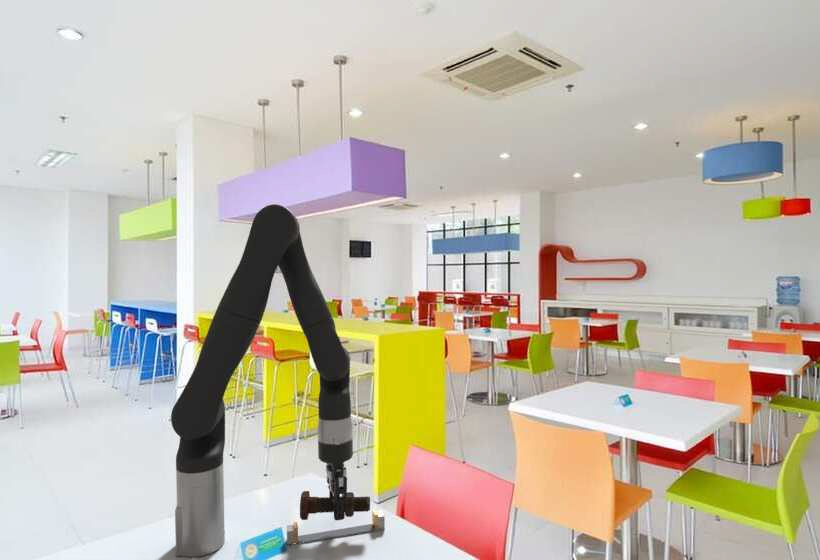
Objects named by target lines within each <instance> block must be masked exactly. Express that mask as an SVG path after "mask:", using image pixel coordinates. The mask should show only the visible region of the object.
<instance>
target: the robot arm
mask: <svg viewBox="0 0 820 560" xmlns="http://www.w3.org/2000/svg"><path fill="white" fill-rule="evenodd" d="M300 228H301V227H300V222H299V221H298V218H297V217H296V216H295V213H293V212H292V210H290V209H289V208H288V207H286V206H284V205H283V204H269V205H266V206H263V207H262V208H261V209H260V210H259V211H258V212H257V213H256V214H255V215H254V218H253V220H252V223H251V227H250V230H249V233H248V237H247V240H246V243H245V247H244V249H243V252H242V256H241V258H240V260H239V263H238V265H237V267H236V269H235V271H234V273H233V275H232V277H231V279H230V280H229V282H228V284H227V287H226V289H225V290H224V293H223V294H222V297H221V299H220V301H219V304H218V305H217V308H216V310H215V313H214V315H213V317H212V319H211V322H210V325H209V328H208V330H207V333H206V335H205V338H204V342H203V344H202V347H201V350H200V353H199V355H198V358H197V362H196V364H195V367H194V369H193V371H192V373H191V374H190V377H189V379H188V381H187V383H186V385H185V387H184V388H183V390H182V392H181V393H180V395H179V397H178V398H177V400H176V402H175V404H174V406H173V407H172V410H171V413H170V421H171V423H170V424H171V426H172V429H173V431H174V432H175V434H176V435H178V437H179V445H178V449H177V453H176V456H175V474H176V475H175V477H176V479H175V480H176V481H175V482H176V486H175V487H176V507H175V510H174V519H175V520H174V523H175V524H174V525H175V527H174V528H175V532H174V534H175V556H176V557H181V556H182V557H188V558H197V557H203V556H206V555H210V554H212V553H215V552H216V551H217V550H219V549H220V548H222V547H223V545H224V544H225V542H226V541H225V540H226V536H225V534H226V529H225V492H224V491H225V490H224V488H225V484H224V482H225V481H224V478H225V477H224V451H225V444H226V410H225V409H226V407H225V405H226V404H225V401H224V397H225V393H226V390H227V389H228V388H227V387H228V385H229V383H230V380H231V379H232V376H233V374H234V373H235V371H236V370H237V368H238V366H239V364H241V362H242V360H243V358H244V357H245V356H246V354H247V351H248V350H249V348H250V347H251V344H252V342H253V340H254V338H255V336H256V335H257V334H256V333H257V332H258V329H259V327H260V325H261V321H262V320H263V316H264V314H265V311H266V307H267V305H268V300H269V296H270V291H271V287H272V283H273V279H274V277H275V273H276V271H277V269H278V268H279V270H280V272H281V275H282V278H283V279H284V283H285V286H286V288H287V289H286V290H287V293H288V296H289V299H290V301H291V306H292V308H293V311H294V313H295V316H296V318H297V320H298V323H299V325H300V328H301V330H302V333H303V335H304V336H305V338H306V342H307V344H308V348H309V351H310V355H311V358H312V361H313V363H314V366H315V368H316V371H317V373H318V375H319V392H318V421H317V422H318V423H317V448H318V449H317V452H318V454H317V455H318V459H319V461H320V462H322V463H325V472H326V482H327V484H328V486H327V489H328V491H329V493H328V494H329V496H328V497H331V498H332V497H333V503H334V512H333V519H334V520H335V521H342V520H344V519H345V517H346V516H345V512H344V503H347V492H348V477H347V475H348V474H347V467H345V462H348V461H349V460H351V459H352V458H353V455H354V453H353V452H354V450H353V449H354V448H353V447H354V446H353V445H354V443H353V441H354V440H353V422H352V421H353V420H352V406H351V405H352V403H351V393H350V379H351V378H350V377H351V376H350V372H351V371H350V370H351V367H350V366H351V357H350V353H349V351H348V350H347V349H346V347H345V346H343V343H342V341H341V339H340V337H339V335H338V332H337V330H336V325H335V321H334V317H333V315H332V312H331V310H330V308H329V305H328V303H327V301H326V298H325V297H324V295H323V292H322V290H321V287H320V286H319V284H318V282H317V280H316V277H315V275H314V273H313V271H312V269H311V266H310V263H309V261H308V258H307V255H306V251H305V247H304V245H303V239H302V236H301V235H302V234H301V232H300V231H301V229H300ZM340 495H341V496H340Z"/></svg>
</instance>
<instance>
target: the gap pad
mask: <svg viewBox="0 0 820 560" xmlns="http://www.w3.org/2000/svg"><path fill="white" fill-rule="evenodd" d="M372 532H376V531H375V529H374V527H373V523H370V524H369V523H368V524H362V525H356V526H351V527H350V526H349V527H345V528H344V527H343V528H338V529H332V530H326V531H321V532H314V533H307V534H302V535H298V542H299V543H302V544H304V543H303V542H308V543H313V541H314V542H319V541H324V540H331V539H336V538H343V537H347V536H354V535H360V534H366V533H372ZM299 543H298V544H299Z"/></svg>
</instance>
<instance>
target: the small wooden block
mask: <svg viewBox="0 0 820 560" xmlns="http://www.w3.org/2000/svg"><path fill="white" fill-rule="evenodd" d="M371 512H372V513H371V514H372V525H373V527H374V529H375V531H374V532H376V531H377V532H378V531H381V530H382V531H383V530H386V527H385V519H386V518H385V515H384V513H383V510H379V511H377V509H372V511H371Z"/></svg>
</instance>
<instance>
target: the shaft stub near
mask: <svg viewBox="0 0 820 560" xmlns="http://www.w3.org/2000/svg"><path fill="white" fill-rule="evenodd" d="M298 536H299V525H298V522H297V521H293V523H292V524H289V525H286V543H287V544H288V545H287V546H290V545H289V544H294V543H298ZM298 544H299V543H298ZM294 545H295V544H294Z"/></svg>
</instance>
